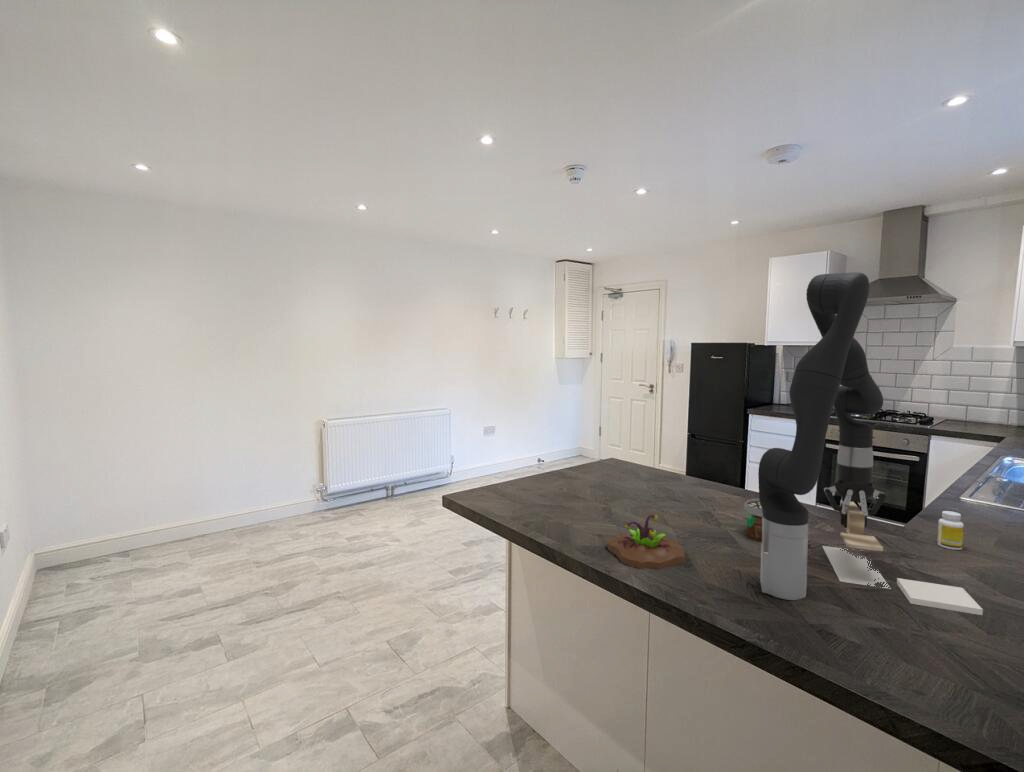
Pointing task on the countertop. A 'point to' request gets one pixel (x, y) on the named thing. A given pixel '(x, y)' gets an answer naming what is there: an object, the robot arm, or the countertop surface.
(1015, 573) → the countertop surface
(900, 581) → the tile
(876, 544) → the turner
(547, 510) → the countertop surface
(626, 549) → the toy plant on soil
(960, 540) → the supplement bottle
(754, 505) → the food container
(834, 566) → the mat
